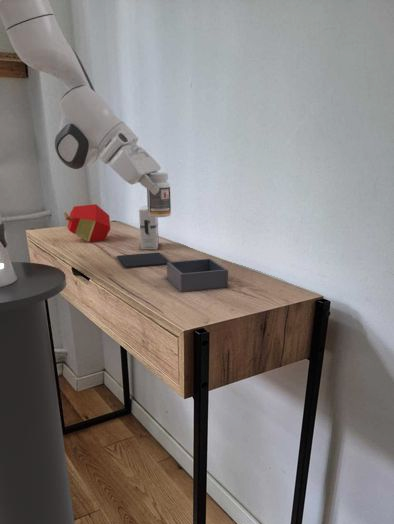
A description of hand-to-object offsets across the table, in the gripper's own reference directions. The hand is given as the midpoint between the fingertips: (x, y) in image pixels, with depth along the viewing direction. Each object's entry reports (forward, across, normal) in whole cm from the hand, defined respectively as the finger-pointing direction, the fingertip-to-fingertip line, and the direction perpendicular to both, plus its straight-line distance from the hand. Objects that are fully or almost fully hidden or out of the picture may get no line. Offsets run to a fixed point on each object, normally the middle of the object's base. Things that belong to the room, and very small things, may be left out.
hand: (161, 190), depth 117 cm
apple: (-8, -30, -36) cm, 47 cm away
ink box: (+7, -24, -20) cm, 32 cm away
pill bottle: (+4, 0, -5) cm, 6 cm away
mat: (+9, -7, -19) cm, 22 cm away
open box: (+21, +11, -6) cm, 24 cm away
